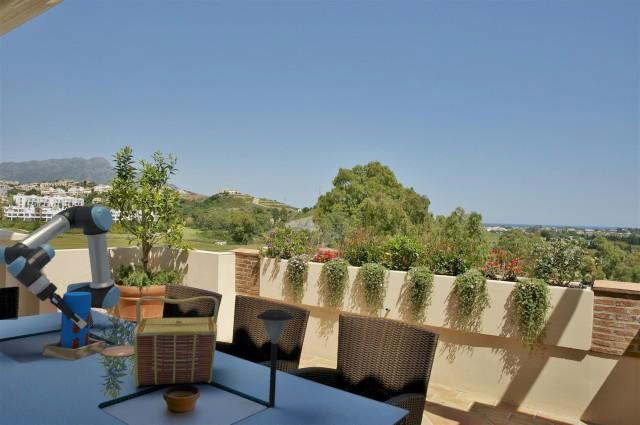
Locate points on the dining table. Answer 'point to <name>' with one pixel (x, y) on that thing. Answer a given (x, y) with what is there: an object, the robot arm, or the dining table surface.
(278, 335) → the solar garden light
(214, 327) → the picnic basket
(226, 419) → the dining table surface
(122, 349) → the saucer
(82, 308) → the thermos
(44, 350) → the square frame
